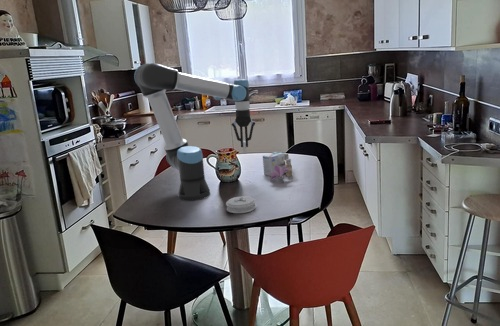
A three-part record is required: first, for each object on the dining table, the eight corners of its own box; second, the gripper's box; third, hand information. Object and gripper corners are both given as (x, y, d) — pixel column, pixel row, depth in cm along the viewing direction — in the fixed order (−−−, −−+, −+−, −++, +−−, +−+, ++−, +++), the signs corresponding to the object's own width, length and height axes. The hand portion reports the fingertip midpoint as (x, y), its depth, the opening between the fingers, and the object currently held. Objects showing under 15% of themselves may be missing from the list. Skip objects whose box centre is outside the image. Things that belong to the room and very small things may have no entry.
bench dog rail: (292, 176, 226) (291, 159, 223) (286, 176, 226) (285, 160, 223) (289, 168, 241) (288, 153, 239) (284, 169, 241) (283, 153, 239)
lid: (249, 202, 190) (248, 192, 189) (260, 211, 179) (260, 200, 177) (222, 208, 186) (221, 197, 185) (232, 217, 174) (231, 206, 173)
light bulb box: (276, 170, 240) (275, 151, 238) (285, 171, 235) (284, 152, 233) (263, 174, 233) (262, 155, 231) (272, 176, 228) (270, 156, 226)
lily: (294, 180, 221) (288, 163, 223) (293, 178, 210) (286, 160, 212) (273, 189, 222) (266, 172, 224) (270, 186, 211) (264, 169, 213)
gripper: (254, 107, 228) (256, 151, 234) (230, 109, 229) (233, 152, 234) (255, 109, 221) (257, 153, 226) (230, 110, 221) (232, 155, 227)
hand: (244, 153), depth 230 cm, fingers closed
